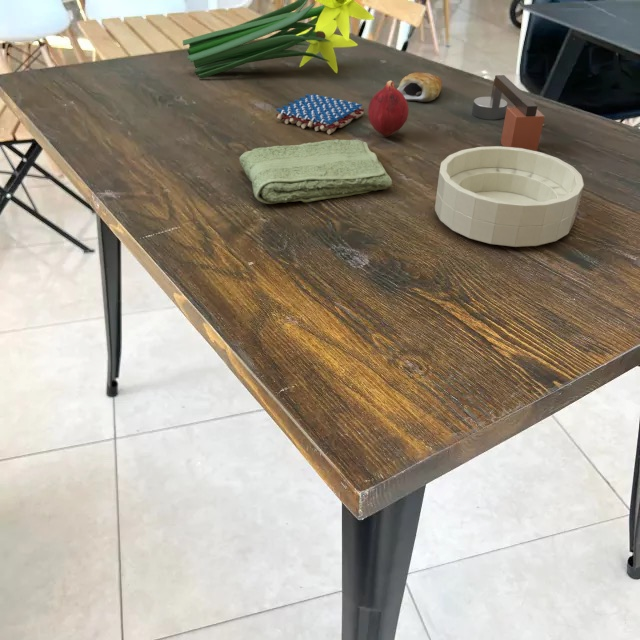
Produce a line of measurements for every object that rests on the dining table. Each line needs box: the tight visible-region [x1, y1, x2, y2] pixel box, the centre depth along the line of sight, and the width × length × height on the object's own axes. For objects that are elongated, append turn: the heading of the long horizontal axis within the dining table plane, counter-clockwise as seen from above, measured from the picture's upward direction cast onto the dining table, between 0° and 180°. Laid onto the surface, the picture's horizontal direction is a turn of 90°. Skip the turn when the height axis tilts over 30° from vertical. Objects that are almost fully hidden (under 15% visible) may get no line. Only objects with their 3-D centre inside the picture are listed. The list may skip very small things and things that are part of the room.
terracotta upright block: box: [500, 106, 545, 152], centre depth 91 cm, size 4×4×5 cm
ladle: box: [471, 74, 538, 121], centre depth 96 cm, size 19×5×7 cm, turn 6°
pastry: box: [396, 71, 443, 103], centre depth 110 cm, size 9×7×4 cm
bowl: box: [434, 145, 585, 248], centre depth 74 cm, size 16×16×6 cm
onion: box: [367, 80, 410, 138], centre depth 93 cm, size 6×6×8 cm
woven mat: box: [275, 93, 365, 135], centre depth 101 cm, size 10×11×2 cm
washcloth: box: [238, 138, 393, 205], centre depth 83 cm, size 13×18×3 cm
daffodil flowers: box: [182, 0, 375, 79], centre depth 117 cm, size 17×15×35 cm
